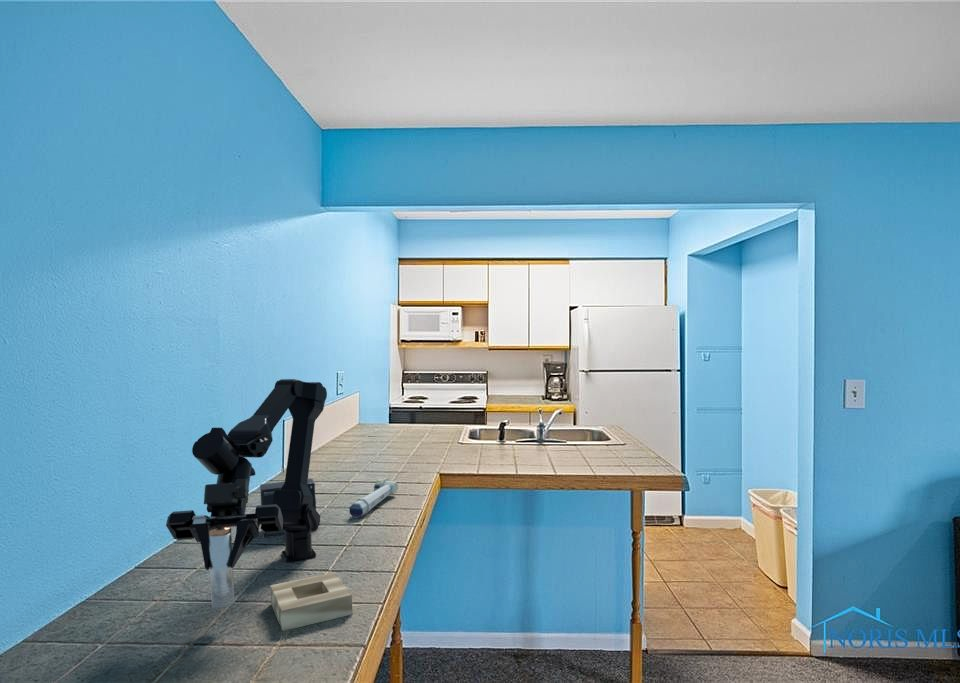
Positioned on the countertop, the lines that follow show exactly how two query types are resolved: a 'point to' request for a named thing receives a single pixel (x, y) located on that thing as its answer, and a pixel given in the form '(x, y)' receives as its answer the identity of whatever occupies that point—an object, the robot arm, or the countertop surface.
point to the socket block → (310, 600)
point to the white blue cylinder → (373, 497)
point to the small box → (267, 498)
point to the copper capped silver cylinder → (221, 566)
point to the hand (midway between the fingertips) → (219, 568)
